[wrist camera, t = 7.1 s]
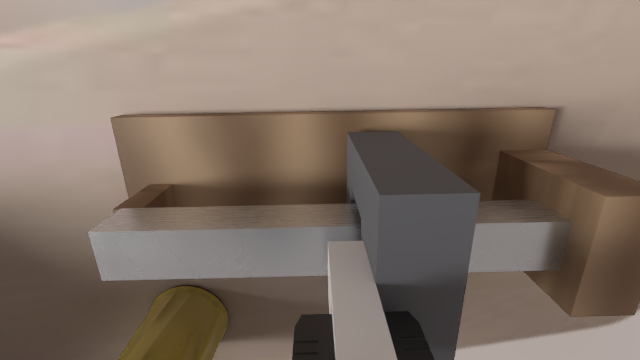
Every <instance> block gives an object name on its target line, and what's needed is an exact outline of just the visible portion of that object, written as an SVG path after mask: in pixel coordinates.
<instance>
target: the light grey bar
mask: <svg viewBox="0 0 640 360" xmlns="http://www.w3.org/2000/svg"><path fill="white" fill-rule="evenodd" d="M572 224H573V221H571V220H570V219H568V218H566V217H564V216H563V215H561V214H559V213H558V212H556V211H554V210H553V209H551V208H549V207H547V206H546V205H544V204H542V203H541V202H539V201H537V200H497V201H479V206H478V212H477V219H476V225H475V231H474V238H473V244H472V250H471V256H470V263H469V269H468V272H504V271H546V270H560V269H561V265H562V261H563V257H564V254H565V250H566V246H567V243H568V239H569V235H570V232H571V228H572ZM88 234H89V238H90V241H91V245H92V248H93V252H94V255H95V259H96V262H97V266H98V269H99V273H100V277H101V280H102V281H118V280H161V279H204V278H246V277H289V276H328V241H361V217H360V213H359V210H358V207H357V204H356V203H355V204H308V205H261V206H214V207H166V208H121V209H120V210H118V211H117V212H115V213H114V214H113V215H111V216H110V217H108V218H107V219H106V220H104V221H103V222H101V223H100V224H99V225H97V226H96V227H94V228H93V229H92V230H90V231H89V232H88Z"/></svg>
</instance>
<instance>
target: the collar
mask: <svg viewBox="0 0 640 360" xmlns="http://www.w3.org/2000/svg"><path fill="white" fill-rule="evenodd" d="M480 194H481V193H480V192H478V191H477V190H476V189H474V188H473V187H472V186H470V185H469V184H468V183H466V182H465V181H464V180H462V179H461V178H460V177H458V176H457V175H456V174H454V173H453V172H452V171H450V170H449V169H448V168H446V167H445V166H444V165H442V164H441V163H440V162H438V161H437V160H435V159H434V158H433V157H431V156H430V155H429V154H427V153H426V152H425V151H423V150H422V149H421V148H419V147H418V146H417V145H415V144H414V143H413V142H411V141H410V140H409V139H407V138H406V137H405V136H403V135H402V134H401V133H399V132H398V131H394V132H347V197H346V204H355V203H356V204H357V207H358V210H359V213H360V217H361V241H363V242H364V245H365V249H366V252H367V256H368V259H369V263H370V266H371V270H372V273H373V277H374V280H375V284H376V286H377V290H378V293H379V297H380V300H381V304H382V307H383V311H384V312H392V311H409V312H410V314H411V315H412V316H413V317H414V318H415V319H416V320H417V321H418V322H419V323H420V326H421V328H422V330H423V333H424V335H425V339H426V340H427V342H428V345H429V347H430V351H431V352H432V355H433V357H434V359H435V360H454V357H455V350H456V344H457V338H458V332H459V325H460V319H461V313H462V307H463V300H464V294H465V288H466V281H467V275H468V269H469V263H470V256H471V250H472V244H473V238H474V231H475V225H476V219H477V212H478V206H479V200H480Z"/></svg>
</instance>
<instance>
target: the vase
mask: <svg viewBox="0 0 640 360" xmlns="http://www.w3.org/2000/svg"><path fill="white" fill-rule="evenodd" d="M227 327H228V314H227V311H226V309H225V307H224V306H223V304H222V303H221V302H220V301H219V299H218V298H217V297H215V296H214V295H213V294H211V293H210V292H208V291H206V290H203V289H201V288H197V287H192V286H179V287H174V288H171V289H169V290H167V291H165V292H163V293H162V294H160V295H159V296H158V297H157V298H156V299H155V300H154V302H153V304H152V306H151V309H150V311H149V314H148V316H147V317H146V319H145V320H144V321H143V323H142V324H141V325H140V327H139V328H138V330H137V331H136V333H135V334H134V336H133V337H132V339H131V340H130V342H129V344H128V345H127V347H126V348H125V350H124V351H123V353H122V354H121V356H120V358H119V359H118V360H212V359H213V357H214V354H215V352H216V349H217V347H218V345H219V343H220V341H221V339H222V338H223V336H224V334H225V332H226V330H227Z"/></svg>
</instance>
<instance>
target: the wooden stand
mask: <svg viewBox="0 0 640 360" xmlns="http://www.w3.org/2000/svg"><path fill="white" fill-rule="evenodd" d="M555 112H556V110H555V109H549V108H543V107H539V108H485V109H431V110H376V111H322V112H267V113H213V114H159V115H120V116H116V117H112V118H110V119H111V123H112V127H113V132H114V136H115V140H116V145H117V149H118V154H119V158H120V162H121V167H122V171H123V175H124V180H125V184H126V188H127V193H128V197H129V199H128V200H126V201H125V202H123V203H122V204H120V205H119V206H118V207H116V208H115V209H113V211H114V213H115V212H117V211H118V210H120V209H121V208H166V207H214V206H261V205H308V204H346V197H347V132H394V131H398V132H399V133H401V134H402V135H403V136H405V137H406V138H407V139H409V140H410V141H411V142H413V143H414V144H415V145H417V146H418V147H419V148H421V149H422V150H423V151H425V152H426V153H427V154H429V155H430V156H431V157H433V158H434V159H435V160H437V161H438V162H440V163H441V164H442V165H444V166H445V167H446V168H448V169H449V170H450V171H452V172H453V173H454V174H456V175H457V176H458V177H460V178H461V179H462V180H464V181H465V182H466V183H468V184H469V185H470V186H472V187H473V188H474V189H476V190H477V191H478V192H480V193H481V194H480V200H479V201H497V200H537V201H539V202H541V203H542V204H544V205H546V206H547V207H549V208H551V209H553V210H554V211H556V212H558V213H559V214H561V215H563V216H564V217H566V218H568V219H570V220H571V221H573V224H572V228H571V232H570V235H569V239H568V243H567V246H566V250H565V254H564V257H563V261H562V265H561V269H560V270H546V271H524V272H525V273H526V274H527V275H528V276H529V277H530V278H531V279H532V280H533V281H534V282H535V283H536V284H537V285H538V286H539V287H540V288H541V289H542V290H543V291H544V292H545V293H546V294H547V295H549V296H550V297H551V298H552V299H553V300H554V301H555V302H556V303H557V304H558V305H559V306H560V307H561V308H562V309H563V310H564V311H565V312H566V313H567V314H568V315H569V316H570V317H578V316H618V315H635V312H636V309H637V307H638V304H639V301H640V182H639V181H636V180H634V179H631V178H628V177H625V176H622V175H619V174H616V173H613V172H610V171H607V170H605V169H602V168H599V167H596V166H593V165H590V164H587V163H584V162H581V161H578V160H576V159H573V158H570V157H567V156H564V155H561V154H558V153H555V152H552V151H549V150H547V148H548V143H549V139H550V134H551V130H552V125H553V121H554V116H555Z"/></svg>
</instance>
